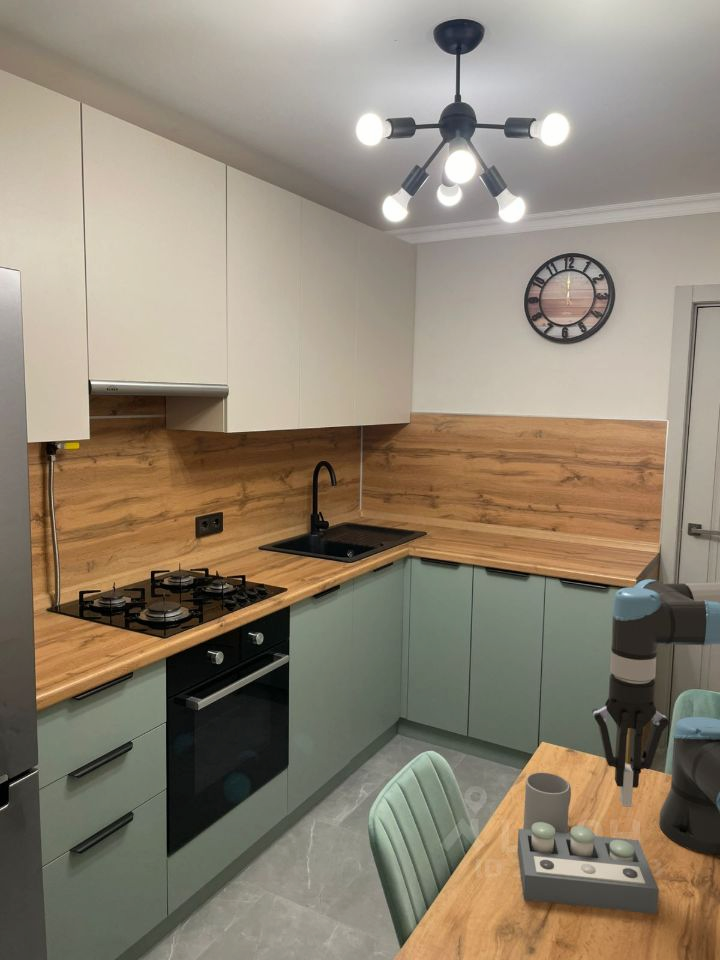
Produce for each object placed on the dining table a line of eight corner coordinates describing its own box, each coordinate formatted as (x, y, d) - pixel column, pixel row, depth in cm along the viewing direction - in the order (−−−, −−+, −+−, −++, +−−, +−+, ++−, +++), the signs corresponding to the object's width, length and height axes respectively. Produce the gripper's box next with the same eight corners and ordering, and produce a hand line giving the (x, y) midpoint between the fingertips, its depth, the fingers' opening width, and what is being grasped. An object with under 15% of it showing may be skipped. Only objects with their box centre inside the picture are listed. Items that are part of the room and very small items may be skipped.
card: (638, 868, 127) (638, 865, 127) (645, 884, 123) (645, 881, 123) (533, 857, 129) (533, 855, 129) (536, 873, 125) (536, 870, 125)
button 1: (552, 845, 135) (553, 823, 135) (555, 858, 131) (556, 836, 131) (529, 842, 136) (530, 821, 135) (531, 856, 132) (532, 834, 131)
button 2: (629, 863, 134) (631, 841, 133) (635, 877, 130) (636, 854, 129) (606, 860, 134) (607, 838, 134) (610, 875, 130) (612, 852, 130)
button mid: (591, 849, 134) (592, 827, 134) (595, 863, 130) (596, 840, 130) (567, 846, 135) (569, 824, 135) (571, 860, 131) (572, 838, 130)
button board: (637, 862, 136) (638, 840, 135) (657, 914, 122) (658, 889, 122) (517, 850, 139) (518, 828, 138) (523, 899, 125) (525, 874, 125)
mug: (551, 853, 138) (553, 799, 137) (514, 833, 145) (516, 781, 143) (585, 830, 146) (588, 778, 145) (549, 812, 152) (551, 762, 151)
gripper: (664, 671, 131) (657, 795, 133) (590, 666, 133) (584, 789, 135) (677, 686, 124) (669, 817, 126) (598, 681, 125) (591, 811, 128)
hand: (625, 802), depth 131 cm, fingers closed
